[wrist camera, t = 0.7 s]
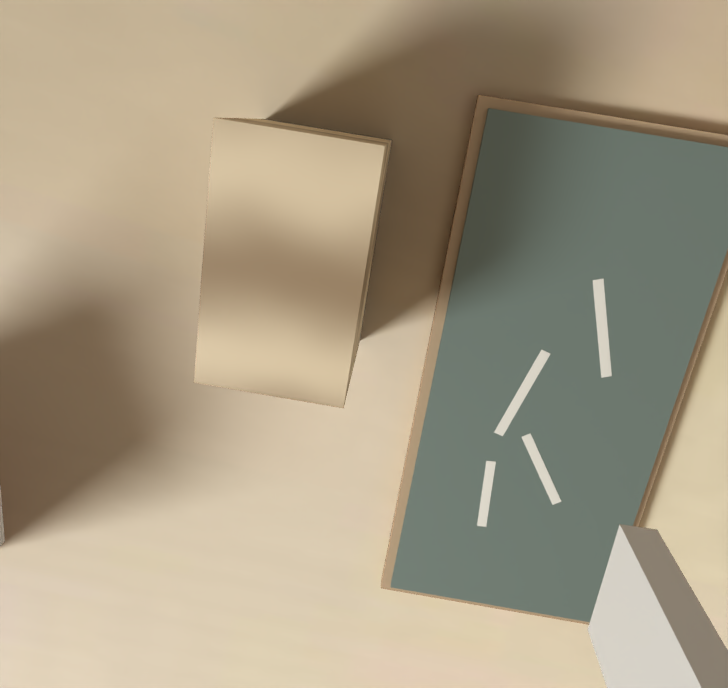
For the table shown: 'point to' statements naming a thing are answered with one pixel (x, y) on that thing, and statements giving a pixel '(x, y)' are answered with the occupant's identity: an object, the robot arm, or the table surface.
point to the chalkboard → (556, 352)
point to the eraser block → (287, 257)
